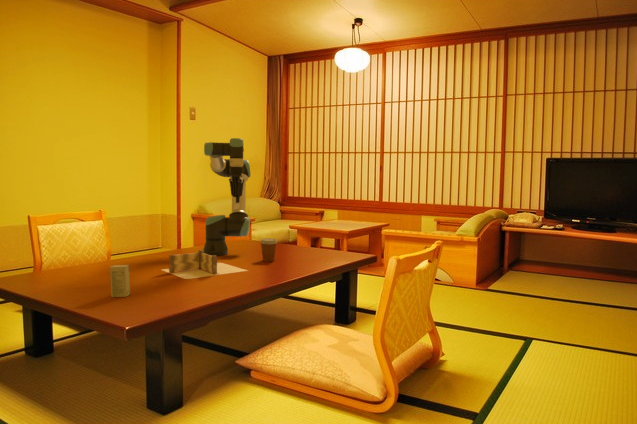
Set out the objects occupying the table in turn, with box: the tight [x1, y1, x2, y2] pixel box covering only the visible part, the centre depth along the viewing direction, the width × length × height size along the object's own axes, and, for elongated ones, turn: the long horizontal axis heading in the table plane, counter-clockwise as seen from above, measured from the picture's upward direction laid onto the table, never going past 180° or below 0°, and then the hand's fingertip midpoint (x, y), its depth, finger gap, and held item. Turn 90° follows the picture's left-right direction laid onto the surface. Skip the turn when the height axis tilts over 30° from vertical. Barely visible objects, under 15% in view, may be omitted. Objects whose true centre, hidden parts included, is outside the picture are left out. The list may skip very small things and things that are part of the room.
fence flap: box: [201, 253, 218, 274], centre depth 248 cm, size 15×2×9 cm, turn 37°
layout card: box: [161, 262, 249, 280], centre depth 252 cm, size 28×34×1 cm
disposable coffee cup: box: [260, 238, 278, 262], centre depth 284 cm, size 10×10×12 cm
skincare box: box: [109, 264, 131, 298], centre depth 200 cm, size 6×4×12 cm
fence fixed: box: [168, 249, 203, 274], centre depth 250 cm, size 18×2×9 cm, turn 130°
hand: (236, 208), depth 280 cm, fingers closed
